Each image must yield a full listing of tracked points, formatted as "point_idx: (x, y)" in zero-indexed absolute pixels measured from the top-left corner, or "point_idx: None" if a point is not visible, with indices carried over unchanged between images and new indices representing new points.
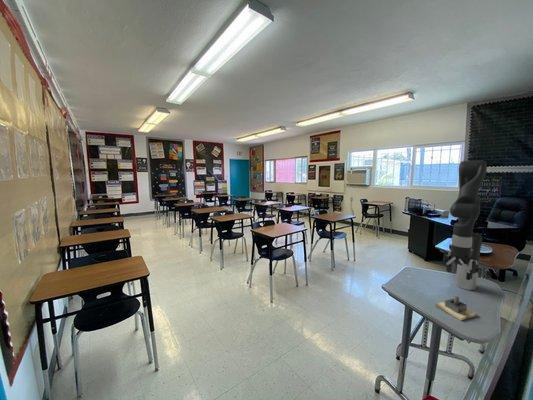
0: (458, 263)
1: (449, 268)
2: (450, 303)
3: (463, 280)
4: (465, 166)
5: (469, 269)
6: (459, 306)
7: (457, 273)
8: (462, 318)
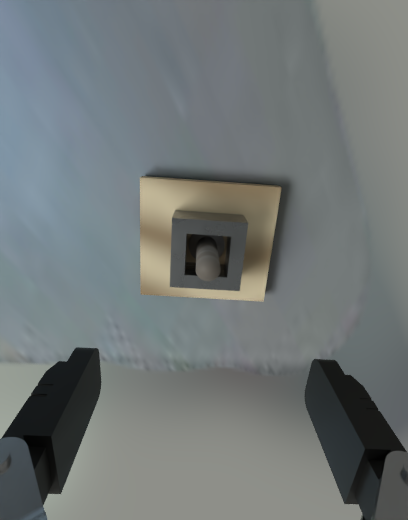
0: None
1: (79, 432)
2: (197, 288)
3: None
4: None
5: (382, 505)
6: (237, 277)
7: None
8: (264, 290)
